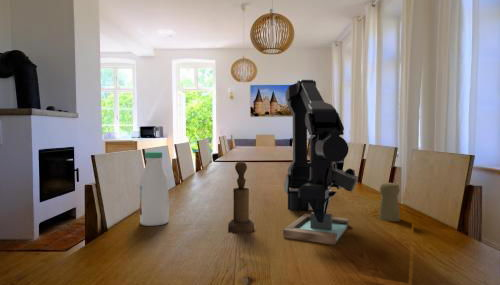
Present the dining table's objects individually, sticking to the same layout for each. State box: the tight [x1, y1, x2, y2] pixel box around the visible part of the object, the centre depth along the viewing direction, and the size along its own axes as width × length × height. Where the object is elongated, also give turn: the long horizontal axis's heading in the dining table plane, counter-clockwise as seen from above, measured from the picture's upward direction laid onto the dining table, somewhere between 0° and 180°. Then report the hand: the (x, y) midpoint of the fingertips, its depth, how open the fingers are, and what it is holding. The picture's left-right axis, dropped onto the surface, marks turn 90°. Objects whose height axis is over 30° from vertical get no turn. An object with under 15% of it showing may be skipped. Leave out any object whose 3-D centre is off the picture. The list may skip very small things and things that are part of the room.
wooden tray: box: [282, 213, 350, 246], centre depth 84 cm, size 12×17×3 cm
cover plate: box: [299, 211, 348, 242], centre depth 83 cm, size 10×13×4 cm
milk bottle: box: [139, 151, 170, 227], centre depth 94 cm, size 8×8×20 cm
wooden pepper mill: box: [227, 161, 255, 234], centre depth 85 cm, size 7×6×18 cm
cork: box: [378, 182, 401, 222], centre depth 96 cm, size 6×6×11 cm
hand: (321, 221), depth 83 cm, fingers closed on cover plate, 2 cm apart
